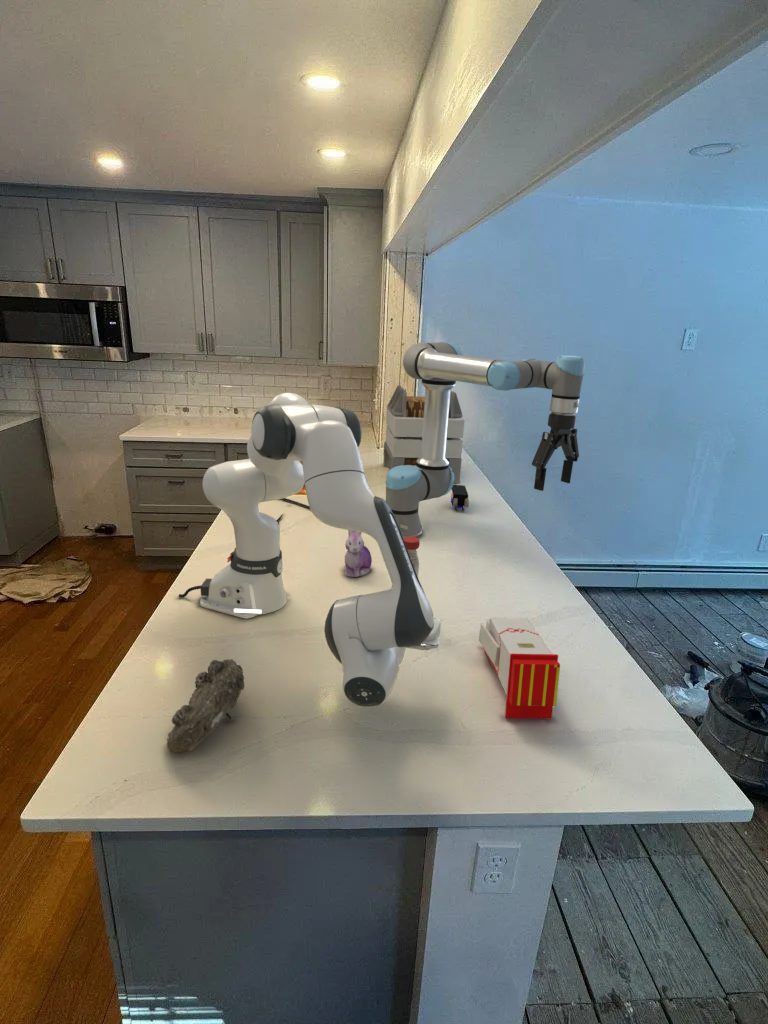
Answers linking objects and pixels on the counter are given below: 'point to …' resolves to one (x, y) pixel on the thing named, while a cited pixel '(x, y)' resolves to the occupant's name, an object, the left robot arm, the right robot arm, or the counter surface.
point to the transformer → (419, 431)
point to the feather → (279, 518)
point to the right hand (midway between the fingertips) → (552, 485)
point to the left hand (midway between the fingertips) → (395, 608)
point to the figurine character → (459, 497)
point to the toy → (522, 666)
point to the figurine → (356, 555)
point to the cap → (411, 542)
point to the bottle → (414, 559)
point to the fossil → (206, 705)
